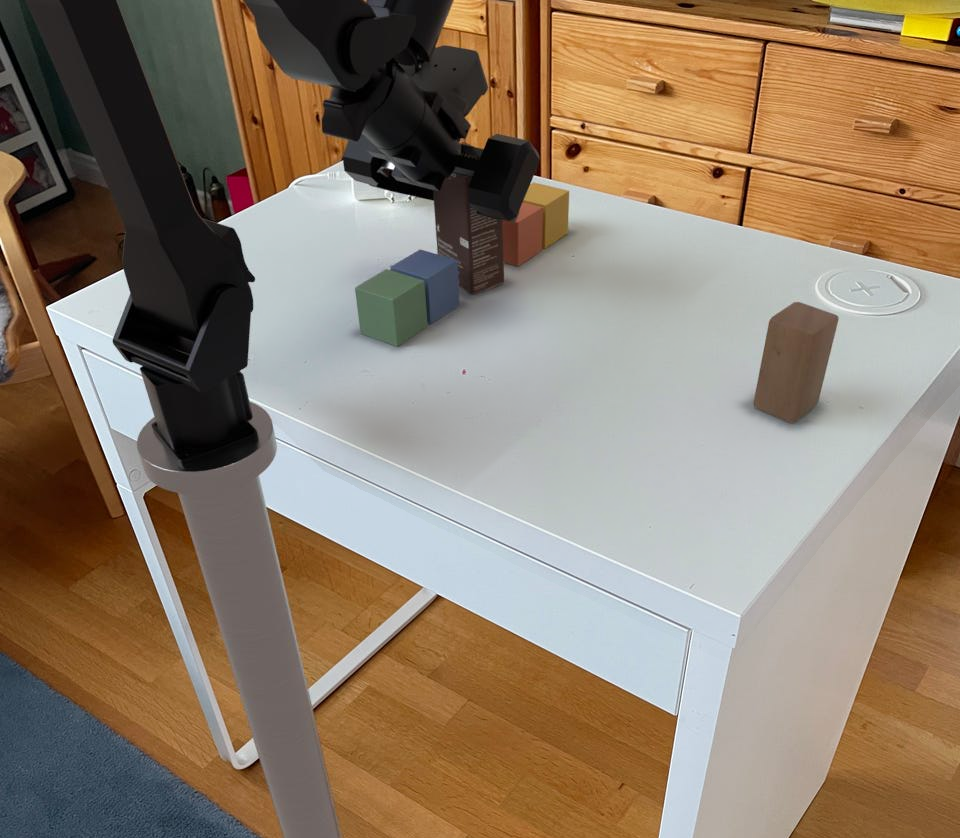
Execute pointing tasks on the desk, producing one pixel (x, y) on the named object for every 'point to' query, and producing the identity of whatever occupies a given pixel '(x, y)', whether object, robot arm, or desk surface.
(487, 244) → the box
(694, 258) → the desk surface
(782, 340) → the wooden block
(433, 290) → the block line
